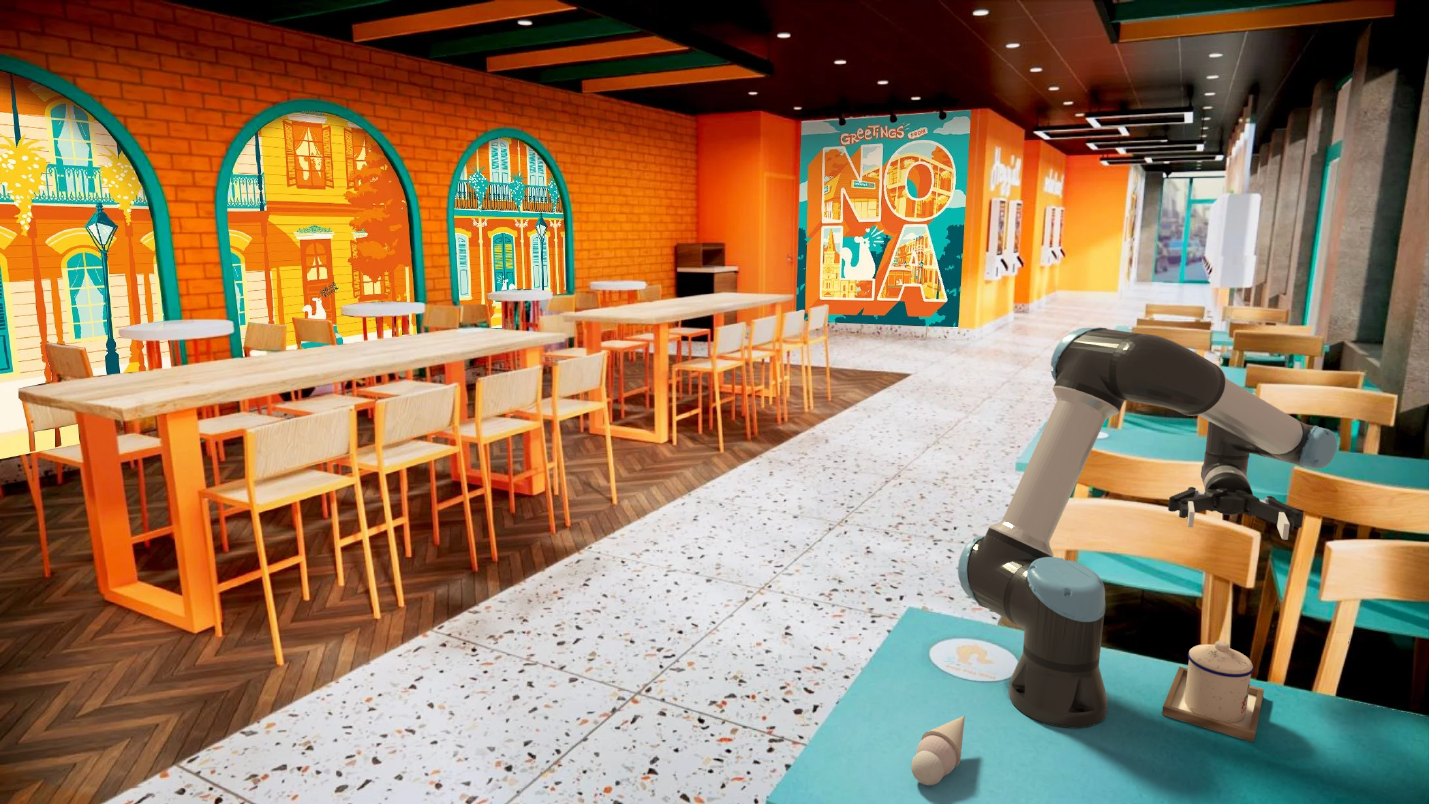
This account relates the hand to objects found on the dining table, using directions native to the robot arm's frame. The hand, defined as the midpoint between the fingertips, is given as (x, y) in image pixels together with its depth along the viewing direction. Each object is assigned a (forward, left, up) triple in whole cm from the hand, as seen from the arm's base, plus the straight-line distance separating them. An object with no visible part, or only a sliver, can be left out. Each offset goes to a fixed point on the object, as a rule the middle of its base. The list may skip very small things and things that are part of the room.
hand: (1237, 525), depth 141 cm
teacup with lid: (0, -11, -28) cm, 30 cm away
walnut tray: (0, -11, -28) cm, 30 cm away
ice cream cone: (-30, -52, -28) cm, 66 cm away
